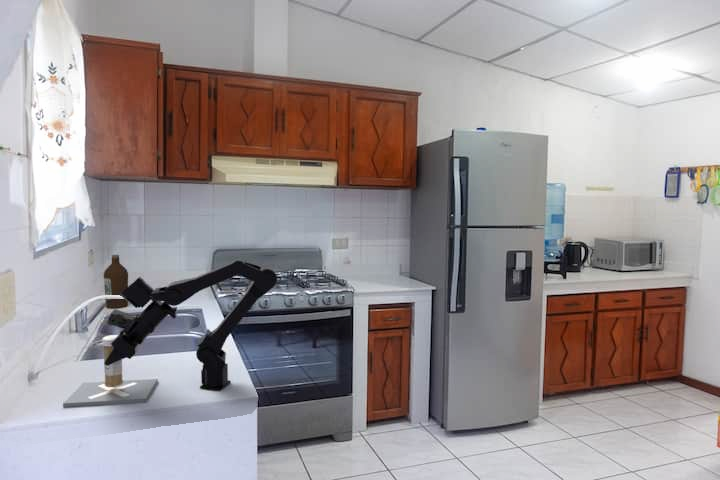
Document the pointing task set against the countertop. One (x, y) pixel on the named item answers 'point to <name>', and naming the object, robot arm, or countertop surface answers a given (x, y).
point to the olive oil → (115, 283)
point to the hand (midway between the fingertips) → (107, 361)
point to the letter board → (111, 393)
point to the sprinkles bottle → (113, 370)
